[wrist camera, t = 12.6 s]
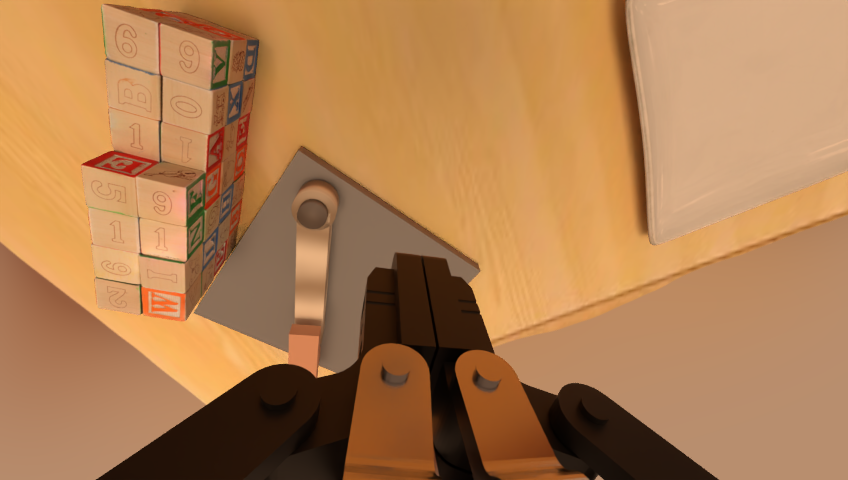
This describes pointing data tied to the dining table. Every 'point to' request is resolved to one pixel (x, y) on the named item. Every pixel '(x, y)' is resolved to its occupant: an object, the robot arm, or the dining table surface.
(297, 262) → the arm link
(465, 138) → the dining table surface
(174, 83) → the stack of blocks
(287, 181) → the board
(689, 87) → the square plate
